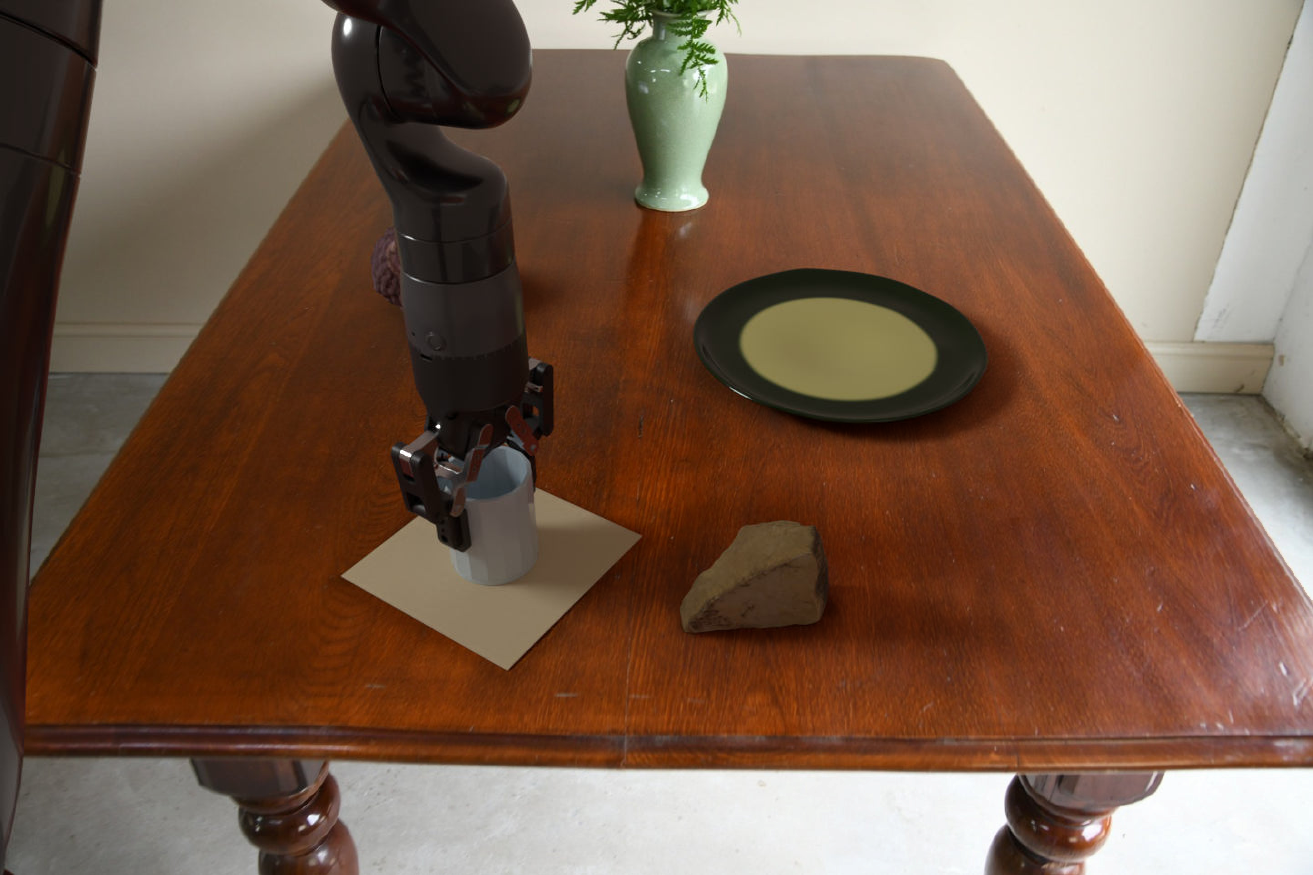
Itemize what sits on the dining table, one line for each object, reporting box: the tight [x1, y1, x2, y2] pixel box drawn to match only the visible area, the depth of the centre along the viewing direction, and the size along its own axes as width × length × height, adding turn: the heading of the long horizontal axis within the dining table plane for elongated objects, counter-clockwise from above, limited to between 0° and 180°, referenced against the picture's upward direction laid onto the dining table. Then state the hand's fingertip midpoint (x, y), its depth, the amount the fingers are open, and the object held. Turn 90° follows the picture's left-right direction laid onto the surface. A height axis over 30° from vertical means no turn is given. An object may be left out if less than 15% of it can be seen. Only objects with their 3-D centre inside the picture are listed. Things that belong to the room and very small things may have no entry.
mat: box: [340, 487, 643, 672], centre depth 77 cm, size 16×16×1 cm
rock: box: [679, 519, 830, 634], centre depth 71 cm, size 11×9×10 cm
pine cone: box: [370, 226, 403, 313], centre depth 106 cm, size 18×10×10 cm
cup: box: [444, 445, 539, 585], centre depth 75 cm, size 6×6×8 cm
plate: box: [692, 267, 989, 425], centre depth 99 cm, size 28×28×2 cm
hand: (490, 517), depth 75 cm, fingers closed on cup, 6 cm apart
